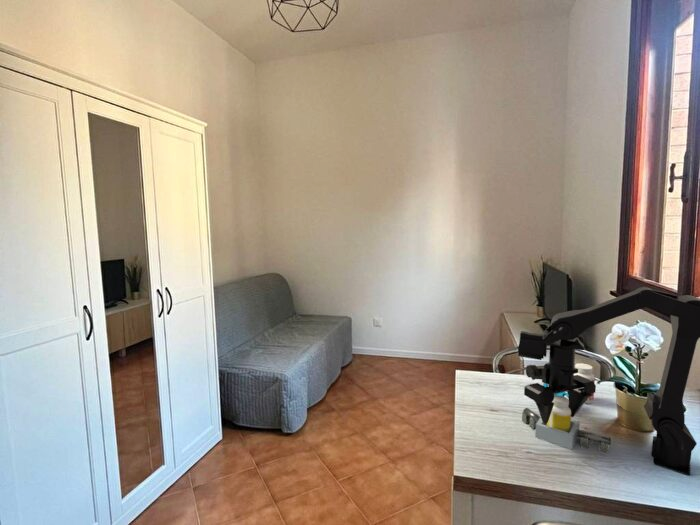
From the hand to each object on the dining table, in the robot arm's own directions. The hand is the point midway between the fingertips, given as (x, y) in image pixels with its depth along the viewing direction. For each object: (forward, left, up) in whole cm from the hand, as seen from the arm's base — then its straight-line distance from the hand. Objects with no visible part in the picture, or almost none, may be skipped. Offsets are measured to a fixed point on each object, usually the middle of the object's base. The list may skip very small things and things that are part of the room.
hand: (558, 419), depth 99 cm
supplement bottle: (0, 0, -4) cm, 4 cm away
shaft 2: (-8, -1, -5) cm, 9 cm away
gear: (+4, -18, -5) cm, 19 cm away
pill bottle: (-1, -27, -5) cm, 27 cm away
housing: (0, 0, -5) cm, 5 cm away
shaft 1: (+7, -2, -5) cm, 8 cm away
